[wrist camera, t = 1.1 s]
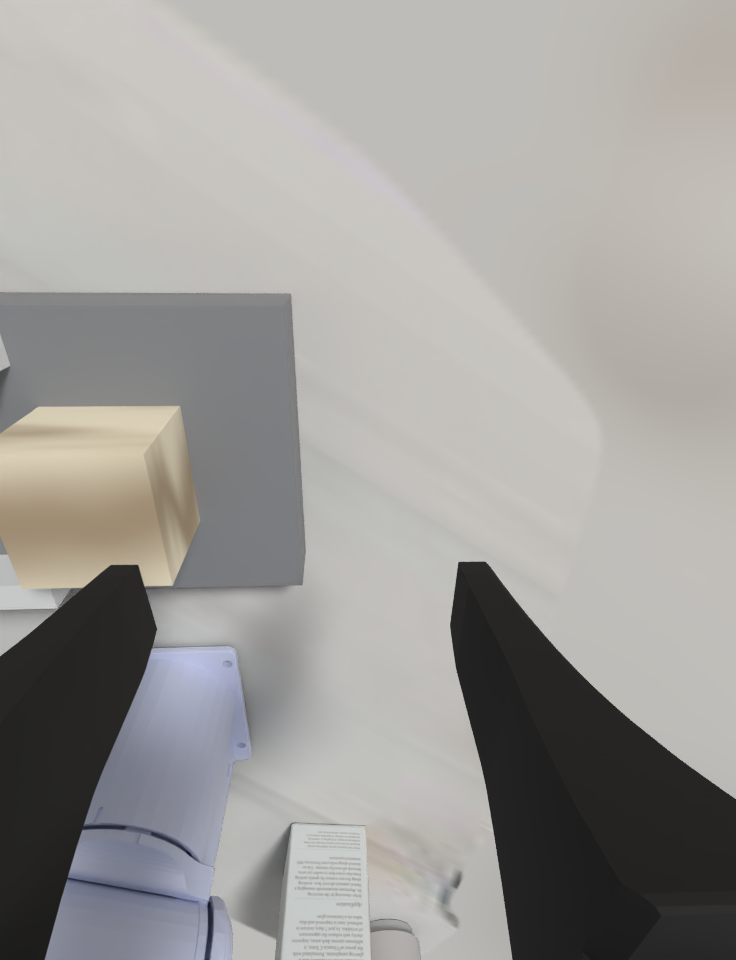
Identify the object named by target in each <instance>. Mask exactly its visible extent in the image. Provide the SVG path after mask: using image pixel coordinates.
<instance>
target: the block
mask: <svg viewBox="0 0 736 960" xmlns="http://www.w3.org/2000/svg"><path fill="white" fill-rule="evenodd" d="M199 523H200V517H199V511H198V506H197V500H196V494H195V488H194V483H193V477H192V471H191V465H190V460H189V454H188V448H187V442H186V437H185V431H184V425H183V419H182V413H181V408H180V406H87V407H37V408H36V409H35V410H33V411H32V412H30V413H29V414H27V415H26V416H25V417H23V418H22V419H20V420H19V421H17V422H16V423H15V424H13V425H12V426H10V427H9V428H7V429H6V430H5V431H3V432H2V433H0V536H1V539H2V541H3V544H4V546H5V549H6V551H7V554H8V556H9V559H10V561H11V564H12V566H13V569H14V571H15V574H16V576H17V578H18V581H19V583H20V586H21V588H22V589H50V588H84V587H85V586H86V585H87V584H88V583H90V582H91V581H92V580H93V579H94V578H95V577H97V576H98V575H99V574H100V573H101V572H103V571H104V570H105V569H106V568H108V567H109V566H110V565H138V566H139V569H140V573H141V576H142V580H143V583H144V586H173V584H174V581H175V579H176V577H177V574H178V572H179V570H180V567H181V565H182V563H183V560H184V558H185V556H186V553H187V551H188V548H189V546H190V544H191V541H192V539H193V537H194V534H195V532H196V530H197V527H198V525H199Z"/></svg>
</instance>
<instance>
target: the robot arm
mask: <svg viewBox="0 0 736 960" xmlns="http://www.w3.org/2000/svg"><path fill="white" fill-rule="evenodd" d="M450 628H451V636H452V643H453V650H454V657H455V664H456V669H457V673H458V677H459V681H460V685H461V689H462V693H463V697H464V701H465V705H466V708H467V712H468V716H469V720H470V724H471V727H472V731H473V735H474V739H475V743H476V746H477V750H478V754H479V758H480V762H481V766H482V770H483V775H484V779H485V784H486V789H487V795H488V801H489V807H490V812H491V818H492V824H493V830H494V836H495V843H496V849H497V856H498V862H499V869H500V875H501V881H502V888H503V895H504V902H505V909H506V916H507V923H508V930H509V937H510V944H511V951H512V959H513V960H736V799H735V798H733V797H732V796H730V795H729V794H727V793H726V792H724V791H723V790H722V789H720V788H719V787H717V786H716V785H715V784H713V783H712V782H710V781H709V780H708V779H706V778H705V777H703V776H702V775H701V774H699V773H698V772H696V771H695V770H694V769H692V768H691V767H689V766H688V765H687V764H685V763H684V762H683V761H681V760H680V759H678V758H677V757H676V756H675V755H673V754H672V753H671V752H670V751H668V750H667V749H666V748H665V747H663V746H662V745H660V744H659V743H658V742H657V741H656V740H655V739H653V738H652V737H651V736H650V735H648V734H647V733H646V732H645V731H643V730H642V729H641V728H640V727H638V726H637V725H636V724H635V723H633V722H632V721H630V719H629V718H627V717H626V716H625V715H624V714H623V713H621V711H619V710H618V709H617V708H616V707H615V706H614V705H613V704H611V703H610V702H609V701H608V700H607V699H606V698H605V697H604V696H603V695H602V694H601V693H599V692H598V691H597V690H596V689H595V688H594V687H593V686H592V685H591V684H590V683H589V682H588V681H587V680H586V679H585V678H584V677H583V676H582V675H581V674H580V673H579V672H578V671H577V670H576V669H575V668H574V667H573V666H572V665H571V664H570V663H569V662H568V661H567V660H566V659H565V658H564V657H563V655H562V654H561V653H560V652H559V651H558V650H557V649H556V648H555V647H554V646H553V644H552V643H551V642H550V641H549V640H548V639H547V638H546V637H545V635H544V634H543V633H542V632H541V631H540V630H539V628H538V627H537V626H536V625H535V624H534V622H533V621H532V620H531V619H530V618H529V617H528V615H527V614H526V613H525V612H524V610H523V609H522V608H521V607H520V606H519V604H518V603H517V602H516V600H515V599H514V598H513V597H512V595H511V594H510V593H509V591H508V590H507V589H506V588H505V586H504V585H503V584H502V582H501V581H500V580H499V578H498V577H497V576H496V574H495V573H494V571H493V570H492V569H491V567H490V566H489V565H488V564H487V563H486V562H459V563H458V570H457V578H456V585H455V593H454V600H453V608H452V616H451V623H450ZM156 631H157V627H156V624H155V620H154V617H153V614H152V610H151V607H150V603H149V600H148V597H147V593H146V590H145V586H144V583H143V580H142V576H141V573H140V569H139V566H138V565H110V566H109V567H108V568H106V569H105V570H104V571H103V572H101V573H100V574H99V575H98V576H97V577H95V578H94V579H93V580H92V581H91V582H90V583H88V584H87V585H86V586H85V587H84V588H83V589H81V590H80V591H79V592H78V593H77V594H76V595H74V596H73V597H72V598H71V599H70V600H69V601H68V602H66V603H65V604H64V605H63V606H62V607H61V608H59V609H58V610H57V611H56V612H55V613H53V614H52V615H51V616H50V617H49V618H47V619H46V620H45V621H44V622H43V623H42V624H40V625H39V626H38V627H37V628H36V629H34V630H33V631H32V632H31V633H30V634H28V635H27V636H26V637H25V638H23V639H22V640H21V641H19V642H18V643H17V644H16V645H14V646H13V647H12V648H11V649H9V650H8V651H7V652H5V653H4V654H3V655H2V656H0V960H232V950H233V933H232V925H231V921H230V919H229V916H228V914H227V910H226V906H225V903H224V901H223V899H221V898H220V897H218V896H210V892H211V887H212V881H213V876H214V871H215V868H214V867H213V866H214V863H215V860H216V856H217V851H218V846H219V841H220V835H221V830H222V824H223V819H224V814H225V808H226V803H227V798H228V792H229V787H230V781H231V776H232V771H233V765H234V760H247V759H249V758H250V757H251V753H252V747H251V740H250V734H249V727H248V721H247V714H246V708H245V702H244V695H243V689H242V682H241V676H240V670H239V663H238V657H237V652H236V650H235V649H234V648H233V647H230V646H212V647H177V648H152V646H153V642H154V639H155V635H156ZM227 661H230V662H227Z"/></svg>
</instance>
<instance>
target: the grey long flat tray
mask: <svg viewBox="0 0 736 960" xmlns="http://www.w3.org/2000/svg"><path fill="white" fill-rule="evenodd" d="M87 406H180V408H181V413H182V419H183V425H184V431H185V437H186V442H187V448H188V454H189V460H190V465H191V471H192V477H193V483H194V488H195V494H196V500H197V506H198V511H199V517H200V523H199V525H198V527H197V530H196V532H195V534H194V537H193V539H192V541H191V544H190V546H189V548H188V551H187V553H186V556H185V558H184V560H183V563H182V565H181V567H180V570H179V572H178V574H177V577H176V579H175V581H174V584H173V586H145V589H157V588H200V587H244V586H287V585H302V584H303V573H304V563H305V552H306V550H305V532H304V515H303V498H302V480H301V463H300V445H299V428H298V411H297V393H296V376H295V358H294V341H293V324H292V306H291V294H211V293H0V433H2V432H3V431H5V430H6V429H7V428H9V427H10V426H12V425H13V424H15V423H16V422H17V421H19V420H20V419H22V418H23V417H25V416H26V415H27V414H29V413H30V412H32V411H33V410H35V409H36V408H37V407H87ZM81 589H83V588H50V589H22V588H21V586H20V583H19V581H18V578H17V576H16V574H15V571H14V569H13V566H12V564H11V561H10V559H9V556H8V554H7V551H6V549H5V546H4V544H3V541H2V539H1V536H0V610H12V609H53V608H58V607H59V605H60V604H61V602H62V601H63V599H64V598H65V597H66V595H67V594H68V592H69V591H70V590H81Z"/></svg>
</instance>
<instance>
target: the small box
mask: <svg viewBox="0 0 736 960" xmlns="http://www.w3.org/2000/svg"><path fill="white" fill-rule="evenodd" d="M275 960H372V951H371V932H370V911H369V884H368V865H367V840H366V827H365V826H361V825H330V824H309V823H293V824H292V825H291V831H290V837H289V843H288V850H287V856H286V862H285V869H284V875H283V880H282V888H281V898H280V909H279V920H278V931H277V942H276V953H275Z"/></svg>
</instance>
